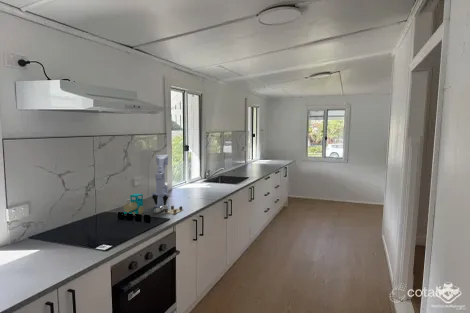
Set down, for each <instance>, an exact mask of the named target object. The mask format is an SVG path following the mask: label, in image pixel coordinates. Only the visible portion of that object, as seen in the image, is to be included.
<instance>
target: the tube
mask: <svg viewBox="0 0 470 313" xmlns="http://www.w3.org/2000/svg"><path fill="white" fill-rule="evenodd" d="M167 205H168V204H167ZM167 205H162V206H160V207H155V208H154V209H153V213H154V214H156V215H157V214H159V213H161V212H163V211H165V209H168V206H167Z"/></svg>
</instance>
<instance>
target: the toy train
mask: <svg viewBox="0 0 470 313" xmlns="http://www.w3.org/2000/svg"><path fill="white" fill-rule="evenodd" d="M143 195H144V194H142V193H134V194H130V197H129V198H127V199H126V203H125V204H124V205H123V210H124V211H123V213H124V214H127V213H129V214H134V215H135V214H137V215H143V213H144V210H145V208H144V201H143V200H144V199H143ZM133 198H135V199H133ZM135 216H136V215H135Z"/></svg>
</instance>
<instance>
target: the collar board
mask: <svg viewBox="0 0 470 313" xmlns="http://www.w3.org/2000/svg"><path fill="white" fill-rule="evenodd" d="M182 211H184V208H183V206H182V205H181V206H179V208H175V206H174V205H170V208H167V209H165V210H164V212H163V215H164V214H165V215H166V214H167V215H177V214H178V213H180V212H182Z"/></svg>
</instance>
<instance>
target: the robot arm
mask: <svg viewBox="0 0 470 313" xmlns="http://www.w3.org/2000/svg"><path fill="white" fill-rule="evenodd" d="M155 162H156V165H157V167H156V173H155V177H154V178H155V185H156V187H155V192H151V198H152V199H153V201H154V207H155V208H157V207H160V206H162V205H167V207H169V204H168V203H167V202H168V198H169V196H170V193H169V186H168V185H167V184H166V167H167V166H168V164H169V155H168V154H156V155H155Z"/></svg>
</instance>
